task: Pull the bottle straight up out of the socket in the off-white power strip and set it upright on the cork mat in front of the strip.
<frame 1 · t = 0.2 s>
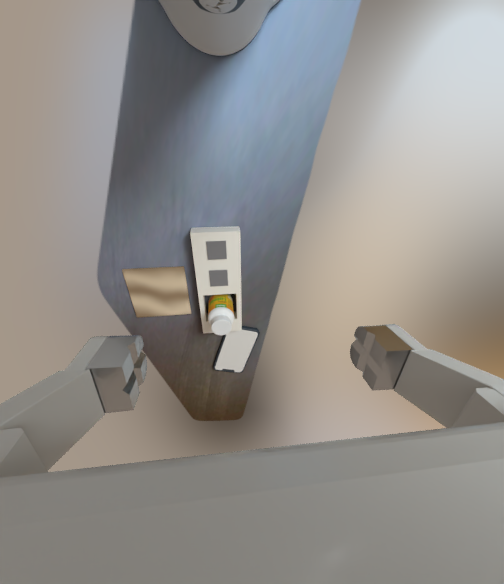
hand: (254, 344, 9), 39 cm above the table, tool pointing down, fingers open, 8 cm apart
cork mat: (159, 292, 51), on the table
supplement bottle: (220, 299, 55), resting in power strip
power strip: (219, 281, 52), on the table
phone case: (235, 347, 64), on the table
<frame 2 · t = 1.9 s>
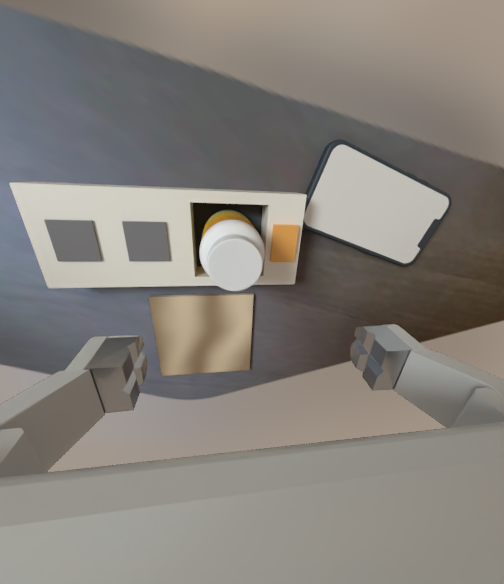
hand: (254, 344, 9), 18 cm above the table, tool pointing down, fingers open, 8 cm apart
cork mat: (205, 335, 31), on the table
supplement bottle: (228, 234, 25), resting in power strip
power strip: (180, 234, 25), on the table
phone case: (368, 209, 27), on the table
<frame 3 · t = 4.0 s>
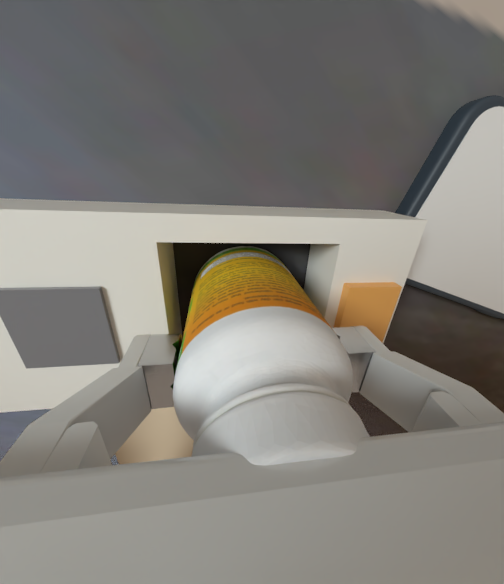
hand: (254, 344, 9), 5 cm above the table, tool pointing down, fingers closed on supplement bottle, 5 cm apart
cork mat: (200, 442, 18), on the table
supplement bottle: (242, 289, 13), resting in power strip, touching gripper
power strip: (148, 293, 12), on the table
phone case: (498, 237, 15), on the table
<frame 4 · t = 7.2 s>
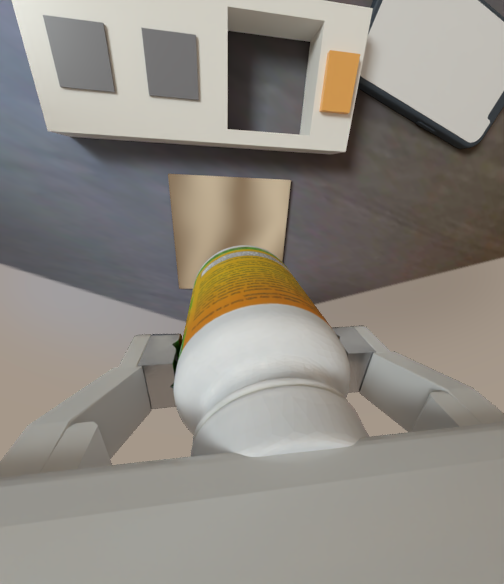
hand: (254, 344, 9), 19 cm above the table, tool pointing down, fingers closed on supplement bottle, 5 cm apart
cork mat: (231, 237, 26), on the table
supplement bottle: (242, 288, 13), point 14 cm above the table, touching gripper
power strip: (208, 84, 20), on the table
phone case: (431, 68, 22), on the table
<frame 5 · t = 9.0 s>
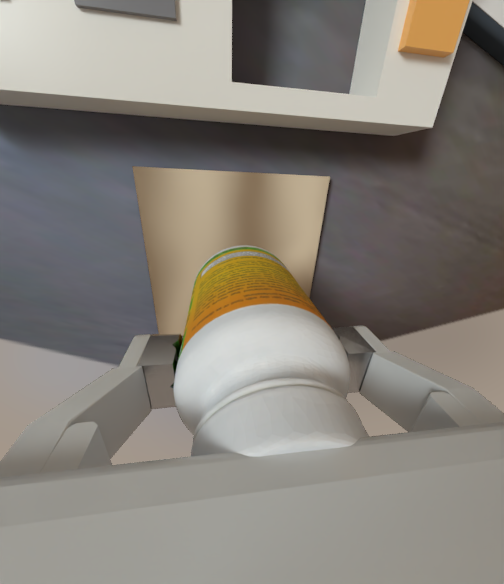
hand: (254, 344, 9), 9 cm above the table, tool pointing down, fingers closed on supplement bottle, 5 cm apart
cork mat: (235, 263, 17), on the table
supplement bottle: (242, 288, 13), point 4 cm above the table, touching gripper
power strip: (197, 6, 11), on the table
when the fingers open (6 cm above the table, at t = 10.5 s): supplement bottle drops 1 cm, resting on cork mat.
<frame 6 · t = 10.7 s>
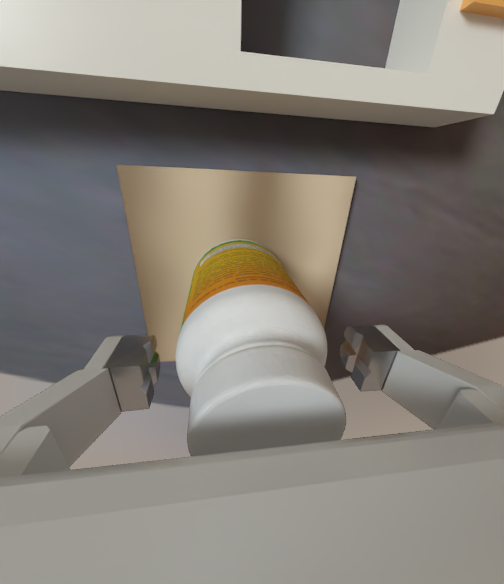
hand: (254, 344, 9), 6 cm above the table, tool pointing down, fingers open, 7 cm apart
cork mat: (241, 278, 15), on the table
supplement bottle: (238, 279, 15), resting on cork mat
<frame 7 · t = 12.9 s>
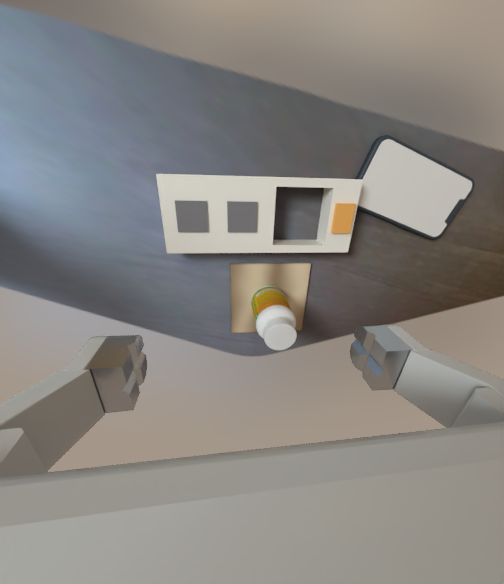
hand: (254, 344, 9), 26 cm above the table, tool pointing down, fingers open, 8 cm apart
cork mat: (268, 299, 38), on the table
supplement bottle: (267, 299, 37), resting on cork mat
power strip: (259, 213, 32), on the table
phone case: (405, 191, 33), on the table
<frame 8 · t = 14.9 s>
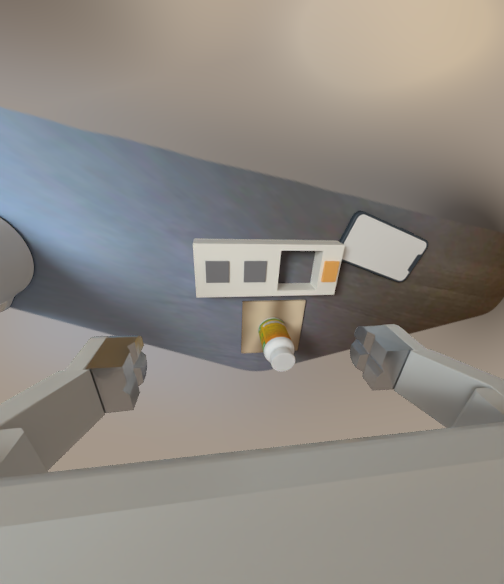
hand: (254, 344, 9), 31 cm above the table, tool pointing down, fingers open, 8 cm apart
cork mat: (271, 326, 47), on the table
supplement bottle: (271, 327, 47), resting on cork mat
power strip: (266, 265, 41), on the table
phone case: (377, 247, 43), on the table
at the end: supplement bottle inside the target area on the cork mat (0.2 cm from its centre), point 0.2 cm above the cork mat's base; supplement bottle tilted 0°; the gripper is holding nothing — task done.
